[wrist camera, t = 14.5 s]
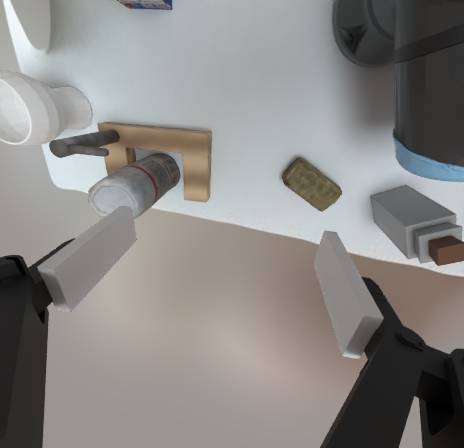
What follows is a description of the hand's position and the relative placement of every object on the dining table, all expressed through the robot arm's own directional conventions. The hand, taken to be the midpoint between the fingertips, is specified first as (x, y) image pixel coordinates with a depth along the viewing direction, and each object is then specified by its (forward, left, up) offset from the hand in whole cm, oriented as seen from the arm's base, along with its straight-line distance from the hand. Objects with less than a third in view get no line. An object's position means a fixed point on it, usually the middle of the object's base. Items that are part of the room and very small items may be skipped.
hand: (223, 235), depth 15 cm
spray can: (+7, -19, -35) cm, 40 cm away
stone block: (+6, +13, -35) cm, 38 cm away
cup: (-4, -37, -35) cm, 51 cm away
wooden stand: (+5, -19, -35) cm, 40 cm away
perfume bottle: (+9, +31, -35) cm, 48 cm away
